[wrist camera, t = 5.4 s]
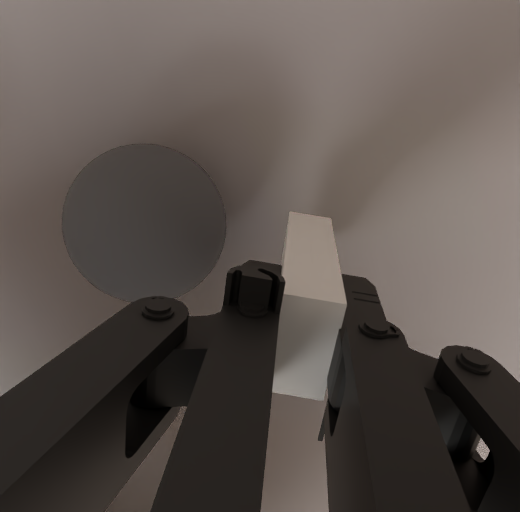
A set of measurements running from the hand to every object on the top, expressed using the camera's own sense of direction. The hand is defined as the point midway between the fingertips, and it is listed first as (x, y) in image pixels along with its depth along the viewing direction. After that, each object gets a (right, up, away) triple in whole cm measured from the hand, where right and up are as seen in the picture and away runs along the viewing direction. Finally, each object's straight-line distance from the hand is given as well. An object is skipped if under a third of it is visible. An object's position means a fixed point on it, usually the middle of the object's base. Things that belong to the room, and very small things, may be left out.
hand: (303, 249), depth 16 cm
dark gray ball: (-6, +1, -1) cm, 6 cm away
